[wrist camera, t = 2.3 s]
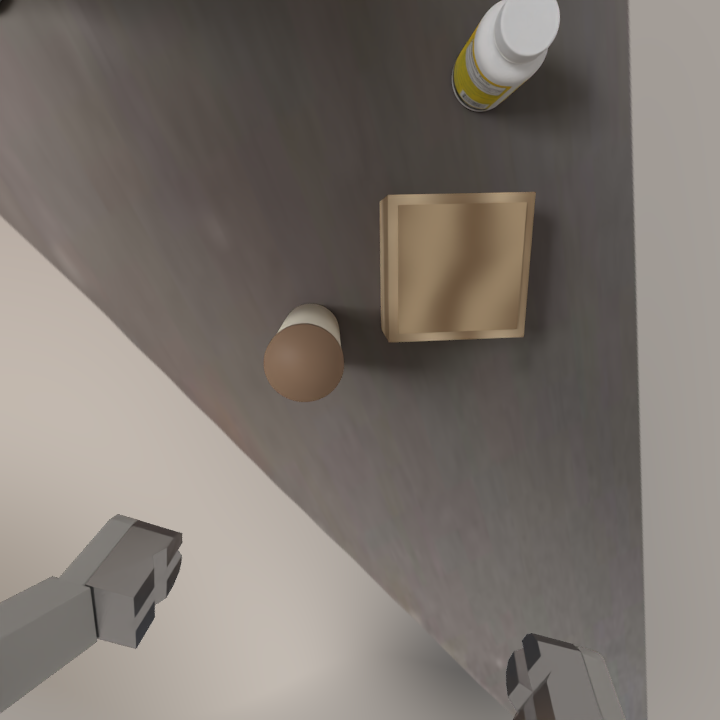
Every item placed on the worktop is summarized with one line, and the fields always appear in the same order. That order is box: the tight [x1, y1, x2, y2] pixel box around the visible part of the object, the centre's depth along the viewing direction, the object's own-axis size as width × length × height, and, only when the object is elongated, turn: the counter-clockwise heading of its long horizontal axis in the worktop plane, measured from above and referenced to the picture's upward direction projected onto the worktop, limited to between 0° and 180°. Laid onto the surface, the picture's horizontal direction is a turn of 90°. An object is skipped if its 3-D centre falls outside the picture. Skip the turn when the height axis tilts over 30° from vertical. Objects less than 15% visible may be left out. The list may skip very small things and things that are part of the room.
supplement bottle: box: [452, 0, 560, 112], centre depth 32 cm, size 5×5×10 cm
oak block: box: [380, 192, 536, 342], centre depth 38 cm, size 12×12×6 cm
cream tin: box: [264, 304, 344, 402], centre depth 36 cm, size 6×6×12 cm
